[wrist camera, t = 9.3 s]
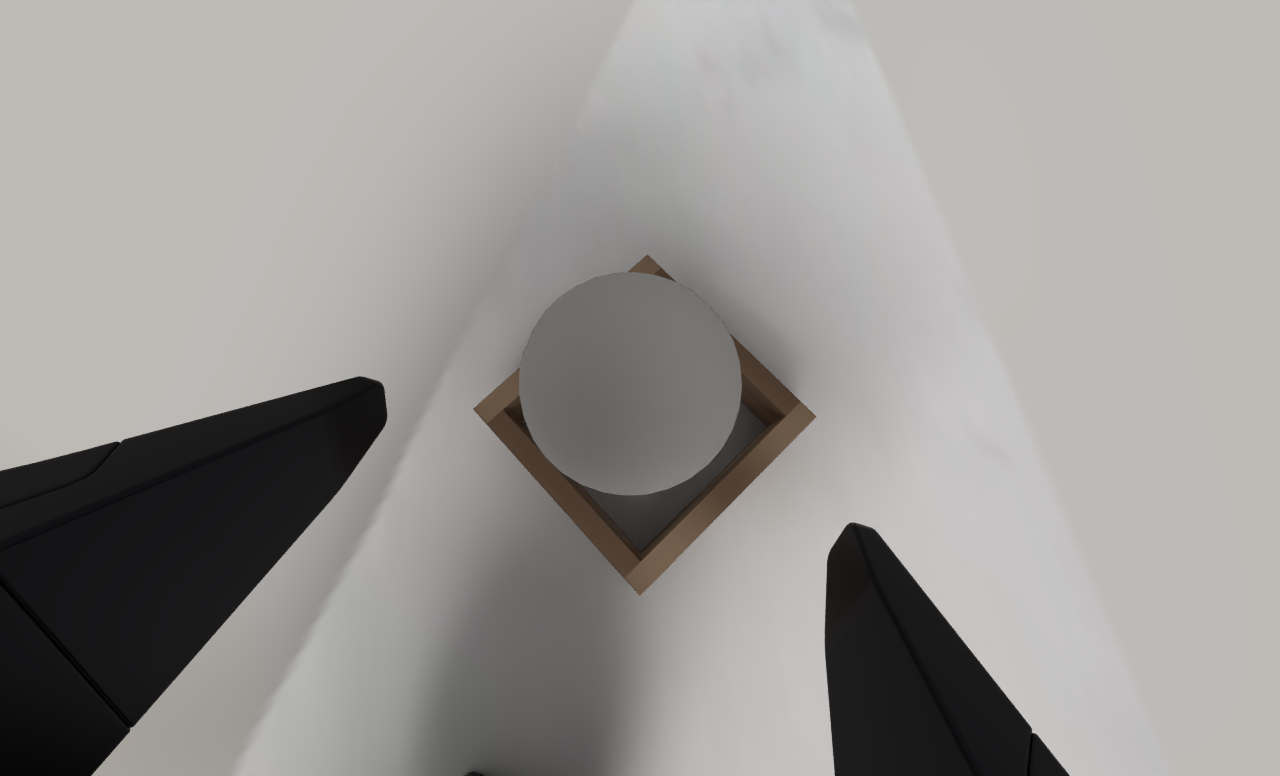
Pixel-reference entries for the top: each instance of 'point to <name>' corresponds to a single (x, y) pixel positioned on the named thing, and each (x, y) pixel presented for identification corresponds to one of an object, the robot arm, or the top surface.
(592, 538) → the frame
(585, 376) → the lightbulb
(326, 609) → the top surface
